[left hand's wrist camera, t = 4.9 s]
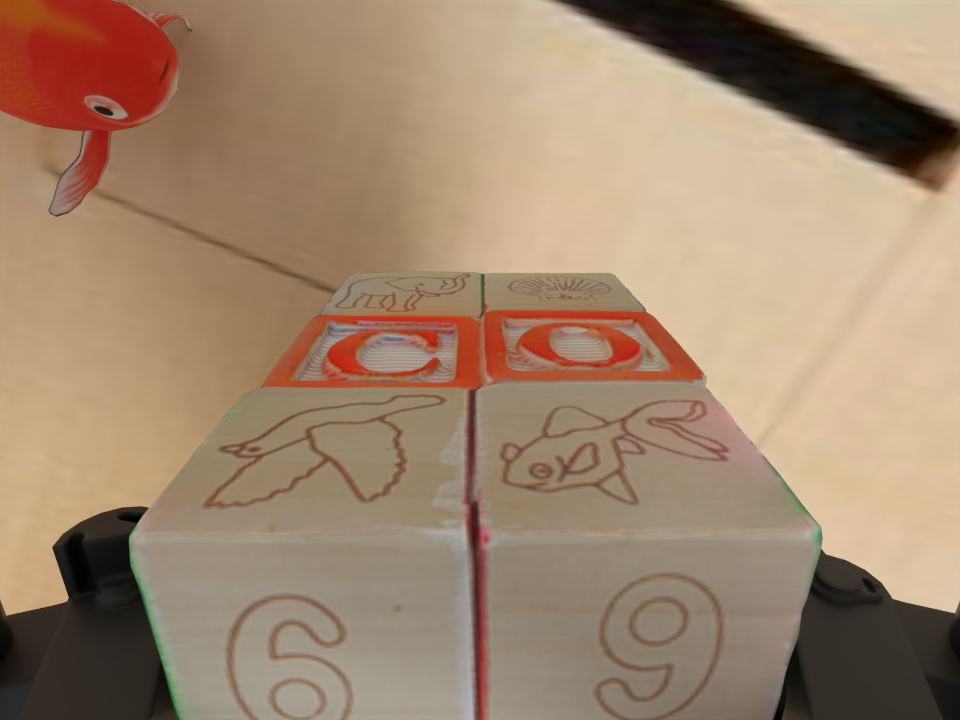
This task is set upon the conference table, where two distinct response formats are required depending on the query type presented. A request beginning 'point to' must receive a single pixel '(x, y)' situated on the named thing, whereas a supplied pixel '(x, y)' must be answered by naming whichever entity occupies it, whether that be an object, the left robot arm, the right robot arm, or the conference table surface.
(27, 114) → the fish
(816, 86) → the conference table surface
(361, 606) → the stack of blocks
